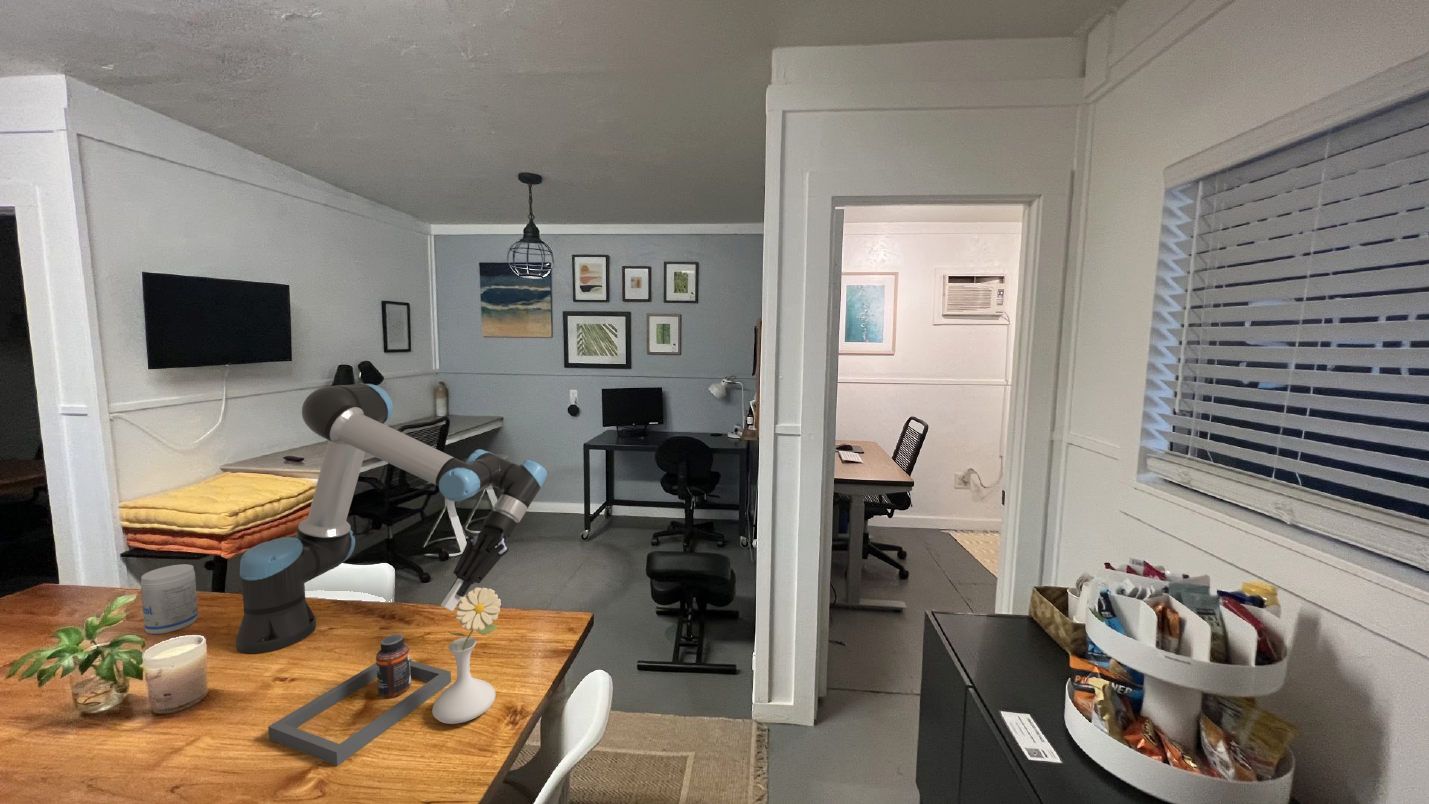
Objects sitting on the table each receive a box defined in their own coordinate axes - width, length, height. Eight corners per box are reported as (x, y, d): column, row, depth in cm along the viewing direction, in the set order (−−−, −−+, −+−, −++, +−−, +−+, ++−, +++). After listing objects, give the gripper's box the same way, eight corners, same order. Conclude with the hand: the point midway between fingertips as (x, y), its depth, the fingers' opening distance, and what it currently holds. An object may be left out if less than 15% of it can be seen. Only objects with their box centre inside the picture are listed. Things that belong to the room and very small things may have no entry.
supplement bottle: (417, 682, 111) (415, 632, 110) (398, 700, 105) (395, 648, 104) (392, 680, 111) (389, 630, 110) (371, 698, 105) (368, 646, 104)
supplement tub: (136, 631, 130) (131, 575, 128) (185, 613, 139) (180, 561, 137) (158, 639, 127) (152, 581, 125) (207, 620, 135) (202, 566, 134)
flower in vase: (425, 735, 95) (419, 607, 93) (440, 696, 106) (435, 580, 104) (500, 722, 99) (496, 598, 97) (507, 685, 110) (504, 573, 107)
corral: (269, 739, 94) (268, 726, 94) (390, 665, 117) (389, 654, 116) (337, 766, 88) (336, 752, 88) (451, 682, 111) (450, 671, 111)
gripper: (531, 528, 130) (476, 621, 117) (497, 520, 136) (440, 607, 123) (513, 513, 124) (453, 609, 111) (478, 505, 131) (417, 595, 118)
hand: (446, 608), depth 117 cm, fingers closed
